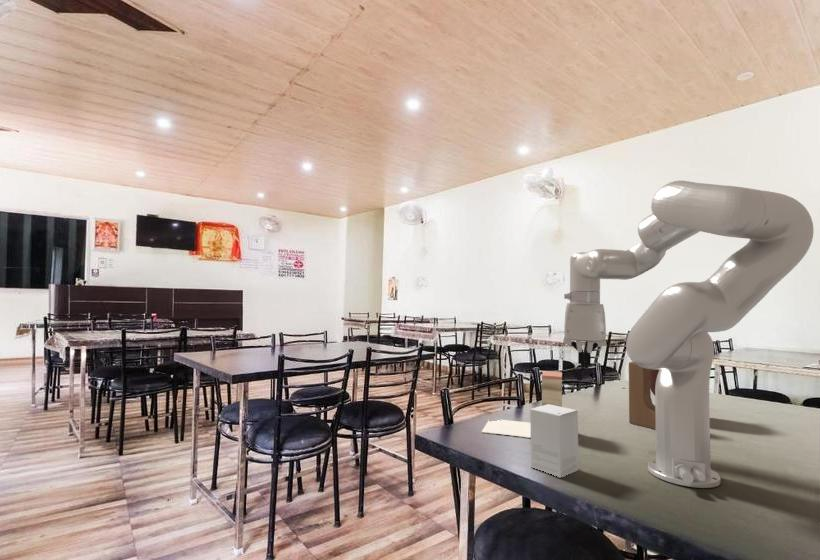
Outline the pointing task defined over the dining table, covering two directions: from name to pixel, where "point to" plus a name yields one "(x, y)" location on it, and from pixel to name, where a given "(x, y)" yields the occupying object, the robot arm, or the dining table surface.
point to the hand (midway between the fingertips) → (584, 366)
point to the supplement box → (554, 439)
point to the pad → (508, 428)
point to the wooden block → (640, 397)
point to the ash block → (552, 388)
